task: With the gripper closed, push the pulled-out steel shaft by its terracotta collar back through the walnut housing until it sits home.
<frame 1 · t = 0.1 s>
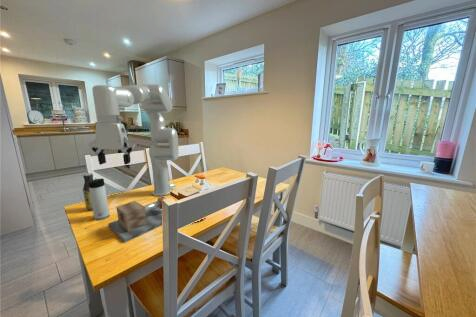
hand: (115, 163, 77), 31 cm above the table, tool pointing down, fingers open, 9 cm apart
canned food: (198, 218, 96), on the table
travel mug: (102, 217, 97), on the table
housing: (133, 226, 88), on the table
sauce bottle: (93, 209, 105), on the table
shaft: (150, 207, 93), point 7 cm above the table, slide at 8.0 cm
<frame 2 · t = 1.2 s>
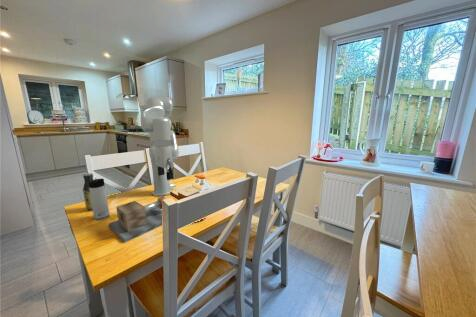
hand: (165, 177, 97), 20 cm above the table, tool pointing down, fingers open, 9 cm apart
nothing on the table moved.
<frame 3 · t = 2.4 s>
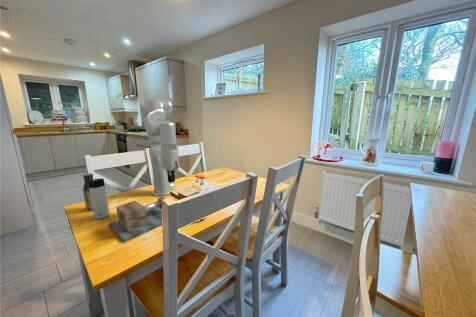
hand: (171, 181, 100), 16 cm above the table, tool pointing down, fingers closed
nothing on the table moved.
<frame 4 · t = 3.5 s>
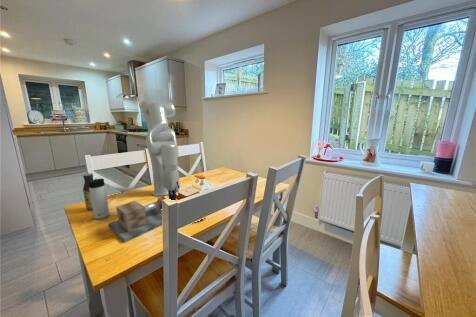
hand: (172, 200, 103), 6 cm above the table, tool pointing down, fingers closed
nothing on the table moved.
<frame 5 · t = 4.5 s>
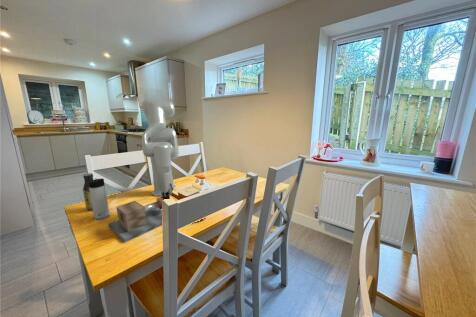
hand: (166, 202, 100), 6 cm above the table, tool pointing down, fingers closed
shaft: (149, 207, 93), point 7 cm above the table, slide at 7.6 cm, touching gripper
everything else where it was.
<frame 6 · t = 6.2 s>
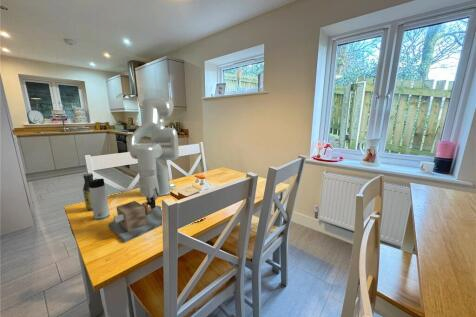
hand: (151, 208, 94), 6 cm above the table, tool pointing down, fingers closed
shaft: (132, 213, 87), point 7 cm above the table, slide at -0.2 cm, touching gripper
everything else where it was.
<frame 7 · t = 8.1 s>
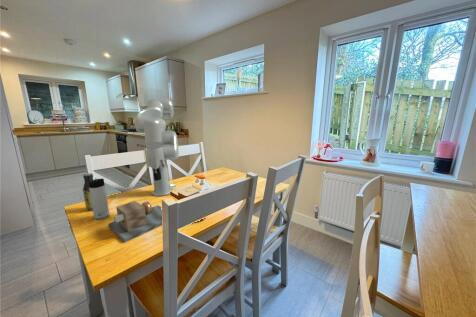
hand: (157, 179, 99), 18 cm above the table, tool pointing down, fingers closed
shaft: (133, 213, 87), point 7 cm above the table, slide at 0.0 cm
everything else where it was.
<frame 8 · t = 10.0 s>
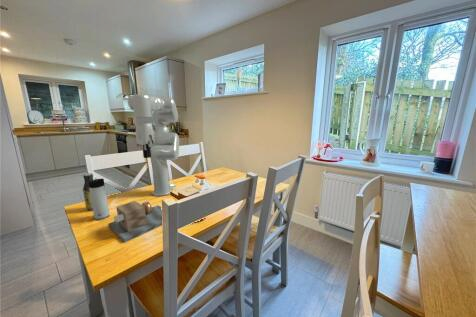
hand: (147, 157, 98), 29 cm above the table, tool pointing down, fingers closed
nothing on the table moved.
at the end: shaft slide at 0.0 cm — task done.
